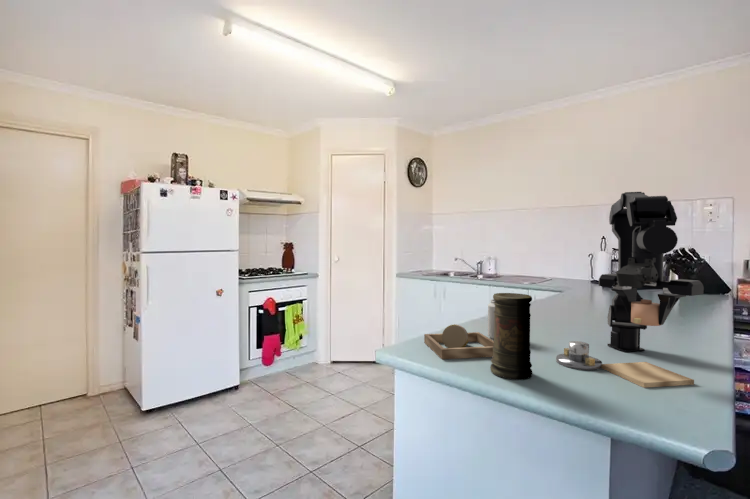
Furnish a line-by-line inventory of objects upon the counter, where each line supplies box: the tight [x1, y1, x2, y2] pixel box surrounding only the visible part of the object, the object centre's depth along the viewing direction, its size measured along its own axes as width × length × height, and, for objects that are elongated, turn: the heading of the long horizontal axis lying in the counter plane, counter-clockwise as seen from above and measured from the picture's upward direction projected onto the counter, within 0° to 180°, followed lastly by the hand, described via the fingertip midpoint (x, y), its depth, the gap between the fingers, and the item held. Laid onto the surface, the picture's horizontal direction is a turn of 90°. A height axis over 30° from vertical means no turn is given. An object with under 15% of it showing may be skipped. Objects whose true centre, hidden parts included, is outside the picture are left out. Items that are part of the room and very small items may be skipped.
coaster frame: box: [423, 331, 494, 360], centre depth 107 cm, size 17×16×2 cm
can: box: [487, 298, 495, 341], centre depth 118 cm, size 8×8×12 cm
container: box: [490, 292, 533, 381], centre depth 87 cm, size 9×9×18 cm
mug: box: [441, 323, 469, 348], centre depth 108 cm, size 8×10×10 cm
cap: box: [631, 298, 661, 327], centre depth 86 cm, size 6×8×5 cm
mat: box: [601, 361, 695, 389], centre depth 86 cm, size 12×12×1 cm
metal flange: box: [555, 340, 603, 371], centre depth 94 cm, size 10×10×5 cm
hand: (646, 322), depth 86 cm, fingers closed on cap, 6 cm apart
